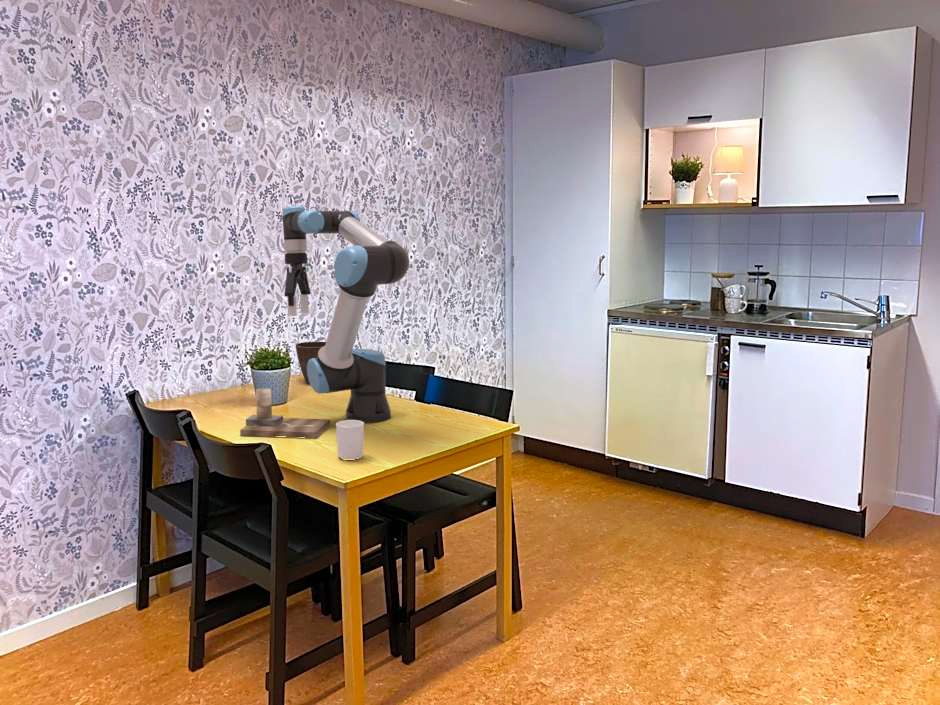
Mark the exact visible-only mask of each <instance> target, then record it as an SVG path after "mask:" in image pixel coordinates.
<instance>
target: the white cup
mask: <svg viewBox="0 0 940 705" xmlns="http://www.w3.org/2000/svg"><path fill="white" fill-rule="evenodd" d="M335 430H336V431H335V433H336V444H337V452H338V453H337V454H338V456H339V457H340V458H343V459H357V458H360V457H362V455H363V456H364V454H363V453H364V439H365V436H364V435H365V422H362V421H359V420H348V419H345V420H340V421H337V422H335ZM339 457H338V458H339ZM362 458H363V457H362Z"/></svg>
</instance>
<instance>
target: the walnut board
mask: <svg viewBox="0 0 940 705" xmlns="http://www.w3.org/2000/svg"><path fill="white" fill-rule="evenodd" d="M330 426H331V419H330V418H328V419H327V418H304V417H301V418H299V417H296V418H295V417H293V418H292V417H283V422H282V423H281V424H279V425H278V426H277V427H275V426H247V425H246V424H245V426H243V427H242V428H241V429H240V430H239V434H240V437H255V438H257V437H259V438H276V437H275V436H286V437H305V438H317V437H318V436H319V435H320V434H321V433H322V432H323V431H324V430H325V431H326V430H327V429H328V428H329V427H330ZM325 431H324V432H325ZM324 432H323V433H324ZM323 433H322V434H323ZM322 434H321V435H322ZM321 435H320V436H321ZM272 436H273V437H272ZM320 436H319V437H320ZM319 437H318V438H319ZM305 438H304V439H305ZM318 438H317V439H318Z"/></svg>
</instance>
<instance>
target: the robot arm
mask: <svg viewBox="0 0 940 705" xmlns="http://www.w3.org/2000/svg"><path fill="white" fill-rule="evenodd" d="M281 218H282V227H283V228H282V229H283V230H282V231H283V243H282V246H283V248H284V252H285V254H284V264H286V265H290V266H286V275H285V276H286V278H285V285H284V286H285V287H284V294H283V296H284V297H286V298H287V311H288V312H287V316H288V317H291V316H292V317H297V316H298V312H297V311H298V310H297V309H298V308H297V296H296V290H297V287H298V288H299V292H300V295H299V305H300V314H309V313H310V308H309V307H310V306H309V295H311V289H310V285H309V284H310V283H309V279H308V274H307V267H306V266H303V265H306V264H308V254H307V250H308V248H307V247H308V246H307V243H308V242H307V234H308V235H309V234H338V235H339V236H341V237H342V238H344V239H345V240H346V241H347V242H349V243H350V244H352V245H353V246H346V247H344V248H342V249H341V250H340V251H338V253H337V255H336V256H335V259H334V261H333V269H334V271H333V276H334V280H335V282H336V283H337V286H338V289H339V290H340V291H339V295H338V297H337V298H338V299H337V303H336V306H335V310H334V313H333V317H332V321H331V323H330V324H331V325H330V327H329V331H328V335H327V338H326V340H325V342H326V345H325V346H324V347H322V348H321V349H320V350H319V352H318V355H317V358H312V359H310V360H309V361H308V363H307V375H308V379H309V382H310V385H309V386H311V388H312V390H313V391H314V392H315V393H317V394H321V395H322V394H331V393H337V392H344V391H345V392H346V391H350V397H349V400H348V403H347V406H346V410H345V419H346V420H359V421H362V422H364V423H378V422H384V421H387V420H389V419H391V418H392V411H391V407H390V404H389V401H388V397H387V395H386V366H387V365H386V357H385V356H386V355H385V354H384V353H383V352H382V351H379V350H375V349H366V348H354V347H355V346H354V345H355V342H356V339H357V335H358V332H359V329H360V325H361V322H362V320H363V316H364V312H365V311H366V310H365V308H366V306H367V302H368V299H370V298H372V297H373V296H374V295H375V293H376V291H377V288H378V285H379V286H380V285H391V284H395V283H397V282H399V281H401V280H402V279H403V278H404V277H405V275H406V274H407V273H408V270H409V268H410V257H409V255H408V253H407V251H406V249H405V248H404V247H403V246H401V245H400V244H398V243H397V242H396V241H393V240H387V239H386V238H384V237H383V236H382V235H380V234H379V233H377V232H375V231H374V230H372V229H371V228H370V227H368V226H366V225H365V224H364V223H363V222H361V218H360V216H359V214H358V213H357V212H356V211H351V210H316V209H306V210H305V208H304V207H303V206H300V205H299V206H298V205H297V206H295V205H293V206H285V207H283V208H282V217H281Z"/></svg>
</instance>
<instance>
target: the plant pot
mask: <svg viewBox="0 0 940 705" xmlns="http://www.w3.org/2000/svg"><path fill="white" fill-rule="evenodd" d="M325 345H326V341H304V342H299V343H296V344H295V350H296V356H297V360H298V364H299V367H300V370H301V373H302V375H303V379H304V381H305V383H306V384H307V385H309V386H311V385H310V382H309V379H308V375H307V363H308V361H309V360H310V359H312V358H317V355H318V352H319V350H320V349H321V348H322V347H324V346H325Z"/></svg>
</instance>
